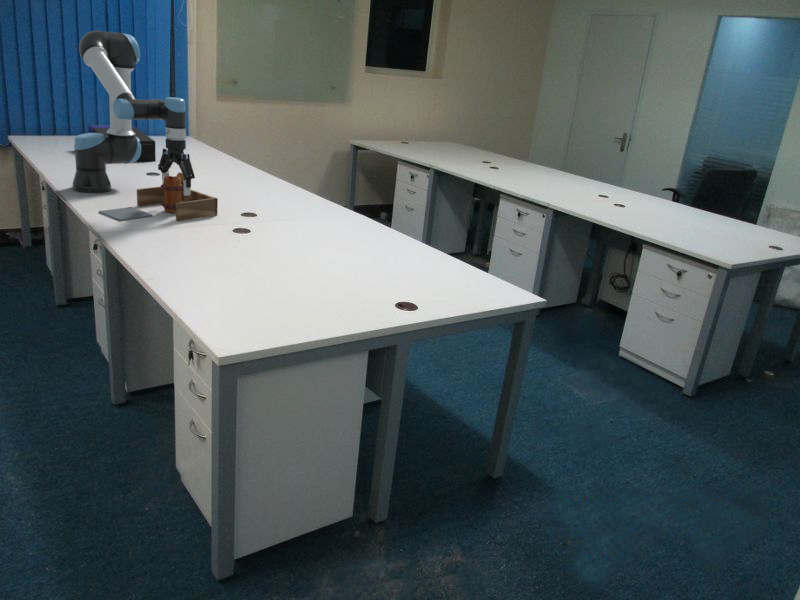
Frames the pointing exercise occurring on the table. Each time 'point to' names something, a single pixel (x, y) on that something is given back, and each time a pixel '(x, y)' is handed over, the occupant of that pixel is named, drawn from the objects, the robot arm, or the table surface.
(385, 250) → the table surface
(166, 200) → the mug
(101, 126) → the headphone box
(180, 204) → the wooden boards
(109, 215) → the rubber mat
